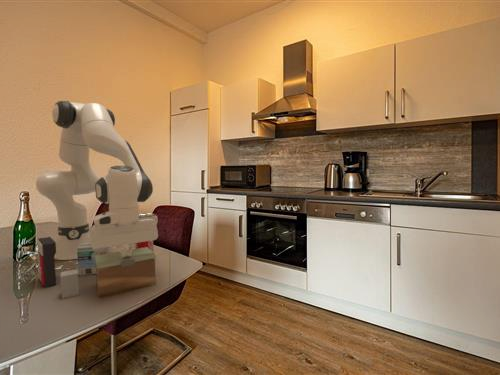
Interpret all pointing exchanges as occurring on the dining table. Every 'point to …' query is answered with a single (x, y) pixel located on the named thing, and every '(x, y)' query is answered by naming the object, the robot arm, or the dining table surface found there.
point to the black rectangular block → (46, 261)
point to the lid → (116, 258)
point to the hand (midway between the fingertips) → (126, 257)
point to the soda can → (145, 245)
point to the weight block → (69, 283)
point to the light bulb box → (89, 258)
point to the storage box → (125, 277)
